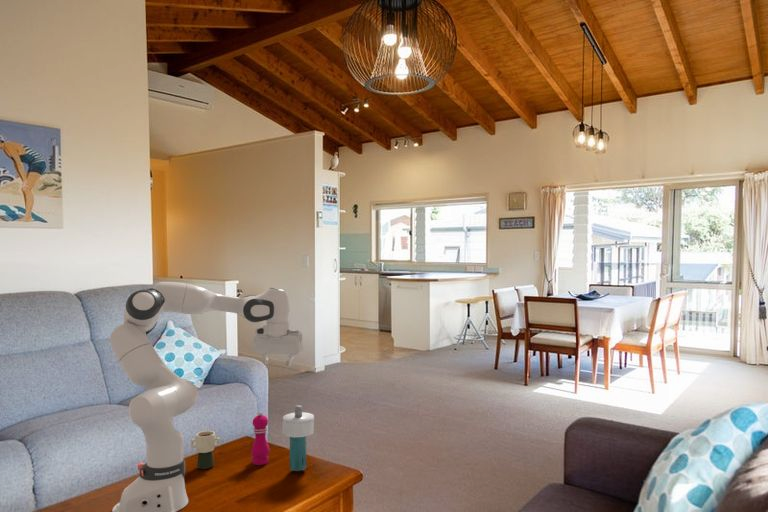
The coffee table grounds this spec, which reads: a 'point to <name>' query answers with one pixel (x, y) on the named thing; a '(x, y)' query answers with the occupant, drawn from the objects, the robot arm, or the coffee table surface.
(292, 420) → the cap
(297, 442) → the beverage bottle
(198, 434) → the character mug
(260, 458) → the pepper mill
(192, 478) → the coffee table surface
